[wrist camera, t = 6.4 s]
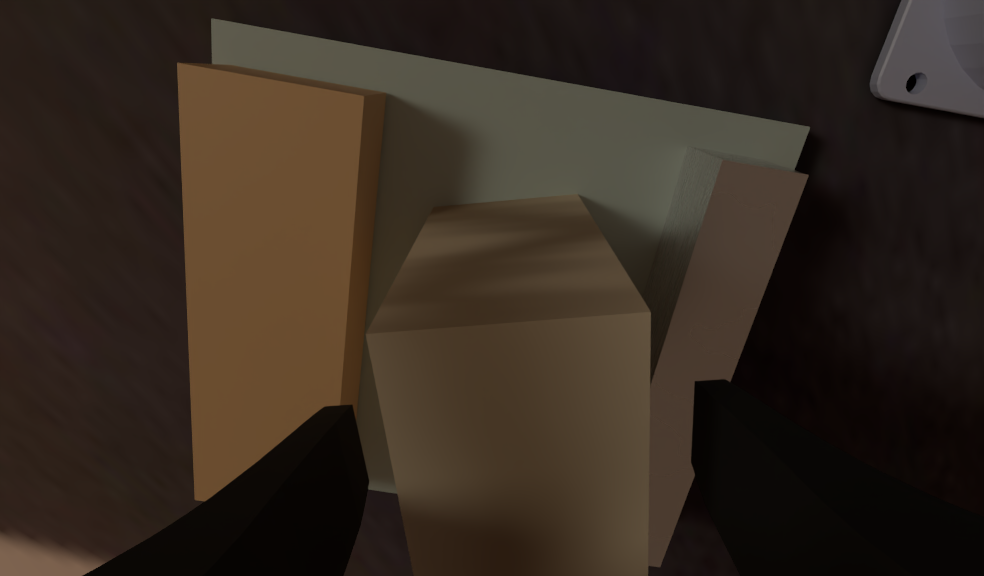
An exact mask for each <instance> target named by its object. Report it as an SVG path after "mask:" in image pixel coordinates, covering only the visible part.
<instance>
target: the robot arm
mask: <svg viewBox="0 0 984 576" xmlns="http://www.w3.org/2000/svg"><path fill="white" fill-rule="evenodd" d="M913 74H914V75H915V76H916V79H917V80H916V85H915V87H914V88H913V90H911V91H910V92H908V91H907V89H906V83H907V80H908V79H909V77H910V76H912V75H913ZM870 89H871V92H872V93H873V95H874V96H875V97H877V98H879V99H881V100H887V101H892V102H898V103H903V104H908V105H914V106H919V107H925V108H930V109H936V110H941V111H946V112H952V113H957V114H963V115H968V116H973V117H979V118H984V0H901V3H900V5H899V8H898V10H897V13H896V15H895V18H894V20H893V23H892V25H891V28H890V30H889V33H888V35H887V38H886V41H885V43H884V46H883V48H882V51H881V53H880V56H879V58H878V61H877V63H876V66H875V68H874V71H873V73H872V76H871V80H870ZM691 464H692V467H693V470H694V473H695V476H696V479H697V482H698V485H699V488H700V491H701V493H702V496H703V499H704V502H705V504H706V507H707V509H708V511H709V513H710V515H711V518H712V520H713V522H714V524H715V526H716V528H717V530H718V532H719V534H720V536H721V538H722V540H723V542H724V544H725V546H726V548H727V550H728V552H729V554H730V556H731V558H732V560H733V562H734V564H735V566H736V568H737V570H738V572H739V574H740V576H984V517H982V516H980V515H977V514H975V513H972V512H970V511H967V510H965V509H962V508H960V507H957V506H955V505H952V504H950V503H948V502H946V501H943V500H941V499H939V498H936V497H934V496H932V495H929V494H927V493H925V492H923V491H921V490H919V489H916V488H914V487H912V486H910V485H908V484H906V483H904V482H902V481H900V480H897V479H895V478H893V477H891V476H889V475H887V474H885V473H883V472H881V471H879V470H877V469H875V468H873V467H871V466H869V465H867V464H865V463H863V462H862V461H860V460H858V459H856V458H854V457H852V456H851V455H849V454H847V453H845V452H843V451H842V450H840V449H838V448H836V447H834V446H833V445H831V444H829V443H827V442H826V441H824V440H822V439H821V438H819V437H817V436H815V435H814V434H812V433H810V432H809V431H807V430H806V429H804V428H802V427H801V426H799V425H797V424H796V423H794V422H793V421H791V420H789V419H788V418H786V417H785V416H783V415H781V414H780V413H778V412H777V411H775V410H774V409H772V408H771V407H769V406H767V405H766V404H764V403H763V402H761V401H760V400H758V399H757V398H755V397H753V396H752V395H750V394H749V393H747V392H746V391H744V390H743V389H741V388H739V387H738V386H736V385H734V384H733V383H731V382H729V381H727V380H726V379H719V380H704V381H695V385H694V406H693V428H692V449H691ZM368 486H369V477H368V473H367V468H366V464H365V459H364V455H363V450H362V446H361V441H360V436H359V432H358V427H357V423H356V418H355V414H354V409H353V405H338V406H325V407H323V408H322V409H320V410H319V411H318V412H316V413H315V414H314V415H313V416H311V417H310V418H309V419H308V420H306V421H305V422H304V423H303V424H302V425H300V426H299V427H298V428H297V429H296V430H294V431H293V432H292V433H291V434H290V435H289V436H287V437H286V438H285V439H284V440H283V441H281V442H280V443H279V444H278V445H277V446H275V447H274V448H273V449H272V450H271V451H269V452H268V453H267V454H266V455H265V456H263V457H262V458H261V459H260V460H259V461H257V462H256V463H255V464H254V465H252V466H251V467H250V468H248V469H247V470H246V471H244V472H243V473H242V474H241V475H239V476H238V477H237V478H235V479H234V480H233V481H231V482H230V483H229V484H228V485H226V486H225V487H224V488H222V489H221V490H220V491H218V492H217V493H216V494H214V495H213V496H212V497H210V498H209V499H208V500H206V501H205V502H203V503H202V504H201V505H199V506H198V507H196V508H195V509H193V510H192V511H190V512H189V513H188V514H186V515H184V516H183V517H181V518H180V519H178V520H177V521H175V522H174V523H172V524H171V525H169V526H168V527H166V528H164V529H163V530H161V531H160V532H158V533H157V534H155V535H153V536H152V537H150V538H148V539H147V540H145V541H143V542H141V543H140V544H138V545H136V546H134V547H133V548H131V549H129V550H127V551H126V552H124V553H122V554H120V555H119V556H117V557H115V558H114V559H112V560H110V561H108V562H107V563H105V564H103V565H101V566H100V567H98V568H96V569H94V570H93V571H90V572H89V573H87V574H85V575H83V576H343V575H344V572H345V570H346V567H347V564H348V561H349V558H350V555H351V552H352V549H353V546H354V543H355V540H356V537H357V534H358V531H359V528H360V525H361V520H362V516H363V511H364V507H365V502H366V496H367V491H368Z"/></svg>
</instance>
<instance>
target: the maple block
mask: <svg viewBox="0 0 984 576" xmlns="http://www.w3.org/2000/svg"><path fill="white" fill-rule="evenodd" d="M366 338H367V343H368V348H369V353H370V358H371V363H372V368H373V373H374V378H375V383H376V388H377V393H378V398H379V403H380V408H381V413H382V418H383V423H384V428H385V433H386V438H387V444H388V449H389V454H390V459H391V464H392V469H393V474H394V479H395V484H396V489H397V494H398V499H399V504H400V509H401V514H402V519H403V524H404V529H405V534H406V539H407V544H408V549H409V554H410V559H411V564H412V569H413V574H414V576H648V528H649V437H650V347H651V311H650V310H649V308H648V306H647V305H646V303H645V302H644V300H643V298H642V297H641V295H640V293H639V292H638V290H637V289H636V287H635V285H634V284H633V282H632V281H631V279H630V277H629V276H628V274H627V273H626V271H625V269H624V268H623V266H622V265H621V263H620V261H619V260H618V258H617V256H616V255H615V253H614V252H613V250H612V248H611V247H610V245H609V244H608V242H607V240H606V239H605V237H604V236H603V234H602V232H601V231H600V229H599V228H598V226H597V224H596V223H595V221H594V219H593V218H592V216H591V215H590V213H589V211H588V210H587V208H586V207H585V205H584V203H583V202H582V200H581V199H580V197H579V195H578V194H572V195H561V196H549V197H538V198H527V199H516V200H505V201H494V202H483V203H472V204H461V205H450V206H439V207H433V209H432V211H431V213H430V215H429V216H428V218H427V220H426V222H425V224H424V226H423V228H422V230H421V231H420V233H419V235H418V237H417V239H416V241H415V243H414V245H413V246H412V248H411V250H410V252H409V254H408V256H407V258H406V260H405V261H404V263H403V265H402V267H401V269H400V271H399V273H398V275H397V276H396V278H395V280H394V282H393V284H392V286H391V288H390V289H389V291H388V293H387V295H386V297H385V299H384V301H383V303H382V304H381V306H380V308H379V310H378V312H377V314H376V316H375V318H374V319H373V321H372V323H371V325H370V327H369V329H368V331H367V333H366Z"/></svg>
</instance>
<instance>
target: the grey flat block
mask: <svg viewBox="0 0 984 576" xmlns="http://www.w3.org/2000/svg"><path fill="white" fill-rule="evenodd" d="M211 29H212V64H223V65H234V66H240V67H245V68H251V69H257V70H262V71H268V72H273V73H279V74H285V75H290V76H296V77H301V78H307V79H313V80H318V81H324V82H330V83H335V84H341V85H346V86H352V87H358V88H363V89H369V90H374V91H380V92H386V103H385V114H384V125H383V135H382V146H381V157H380V168H379V179H378V190H377V201H376V212H375V223H374V234H373V244H372V255H371V266H370V277H369V288H368V299H367V310H366V321H365V332H364V343H363V354H362V364H361V375H360V386H359V397H358V408H357V419H356V423H357V427H358V432H359V436H360V441H361V446H362V450H363V455H364V459H365V464H366V468H367V473H368V477H369V486H368V489H370V490H377V491H383V492H390V493H397V489H396V484H395V479H394V474H393V469H392V464H391V459H390V454H389V449H388V444H387V438H386V433H385V428H384V423H383V418H382V413H381V408H380V403H379V398H378V393H377V388H376V383H375V378H374V373H373V368H372V363H371V358H370V353H369V348H368V343H367V338H366V333H367V331H368V329H369V327H370V325H371V323H372V321H373V319H374V318H375V316H376V314H377V312H378V310H379V308H380V306H381V304H382V303H383V301H384V299H385V297H386V295H387V293H388V291H389V289H390V288H391V286H392V284H393V282H394V280H395V278H396V276H397V275H398V273H399V271H400V269H401V267H402V265H403V263H404V261H405V260H406V258H407V256H408V254H409V252H410V250H411V248H412V246H413V245H414V243H415V241H416V239H417V237H418V235H419V233H420V231H421V230H422V228H423V226H424V224H425V222H426V220H427V218H428V216H429V215H430V213H431V211H432V209H433V207H439V206H450V205H461V204H472V203H483V202H494V201H505V200H516V199H527V198H538V197H549V196H561V195H572V194H578V195H579V197H580V199H581V200H582V202H583V203H584V205H585V207H586V208H587V210H588V211H589V213H590V215H591V216H592V218H593V219H594V221H595V223H596V224H597V226H598V228H599V229H600V231H601V232H602V234H603V236H604V237H605V239H606V240H607V242H608V244H609V245H610V247H611V248H612V250H613V252H614V253H615V255H616V256H617V258H618V260H619V261H620V263H621V265H622V266H623V268H624V269H625V271H626V273H627V274H628V276H629V277H630V279H631V281H632V282H633V284H634V285H635V287H636V289H637V290H638V292H639V293H640V295H641V297H642V298H643V300H644V302H645V303H646V305H647V306H648V308H649V310H650V311H651V347H650V437H649V528H648V566H655V567H660V566H661V563H662V560H663V558H664V555H665V553H666V550H667V547H668V545H669V542H670V539H671V537H672V534H673V532H674V529H675V526H676V524H677V521H678V518H679V516H680V513H681V510H682V508H683V505H684V503H685V500H686V497H687V495H688V492H689V489H690V487H691V484H692V482H693V479H694V476H695V473H694V470H693V467H692V464H691V449H692V428H693V406H694V385H695V381H704V380H719V379H726V380H727V381H729V382H730V381H731V379H732V376H733V374H734V371H735V368H736V366H737V363H738V360H739V358H740V355H741V353H742V350H743V347H744V345H745V342H746V339H747V337H748V334H749V331H750V329H751V326H752V324H753V321H754V318H755V316H756V313H757V310H758V308H759V305H760V303H761V300H762V297H763V295H764V292H765V289H766V287H767V284H768V281H769V279H770V276H771V274H772V271H773V268H774V266H775V263H776V260H777V258H778V255H779V253H780V250H781V247H782V245H783V242H784V239H785V237H786V234H787V231H788V229H789V226H790V224H791V221H792V218H793V216H794V213H795V210H796V208H797V205H798V202H799V200H800V197H801V195H802V192H803V189H804V187H805V184H806V181H807V179H808V176H809V175H807V174H804V173H801V172H798V171H795V167H796V164H797V162H798V159H799V156H800V154H801V151H802V148H803V145H804V143H805V140H806V137H807V135H808V132H809V129H810V127H807V126H801V125H796V124H790V123H785V122H779V121H774V120H768V119H763V118H757V117H752V116H746V115H741V114H735V113H730V112H724V111H719V110H713V109H708V108H702V107H697V106H691V105H686V104H680V103H675V102H669V101H664V100H658V99H653V98H647V97H642V96H636V95H631V94H625V93H620V92H614V91H609V90H603V89H598V88H592V87H586V86H581V85H575V84H570V83H564V82H559V81H553V80H548V79H542V78H537V77H531V76H526V75H520V74H515V73H509V72H504V71H498V70H493V69H487V68H482V67H476V66H471V65H465V64H460V63H454V62H449V61H443V60H438V59H432V58H427V57H421V56H416V55H410V54H405V53H399V52H394V51H388V50H383V49H377V48H372V47H366V46H361V45H355V44H350V43H344V42H339V41H333V40H328V39H322V38H317V37H311V36H306V35H300V34H295V33H289V32H284V31H278V30H272V29H267V28H261V27H256V26H250V25H245V24H239V23H234V22H228V21H223V20H217V19H212V18H211Z"/></svg>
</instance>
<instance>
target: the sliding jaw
mask: <svg viewBox="0 0 984 576" xmlns="http://www.w3.org/2000/svg"><path fill="white" fill-rule="evenodd" d="M177 70H178V95H179V120H180V144H181V169H182V194H183V219H184V243H185V268H186V293H187V318H188V342H189V367H190V392H191V417H192V441H193V466H194V491H195V500H199V501H206V500H208V499H209V498H210V497H212V496H213V495H214V494H216V493H217V492H218V491H220V490H221V489H222V488H224V487H225V486H226V485H228V484H229V483H230V482H231V481H233V480H234V479H235V478H237V477H238V476H239V475H241V474H242V473H243V472H244V471H246V470H247V469H248V468H250V467H251V466H252V465H254V464H255V463H256V462H257V461H259V460H260V459H261V458H262V457H263V456H265V455H266V454H267V453H268V452H269V451H271V450H272V449H273V448H274V447H275V446H277V445H278V444H279V443H280V442H281V441H283V440H284V439H285V438H286V437H287V436H289V435H290V434H291V433H292V432H293V431H294V430H296V429H297V428H298V427H299V426H300V425H302V424H303V423H304V422H305V421H306V420H308V419H309V418H310V417H311V416H313V415H314V414H315V413H316V412H318V411H319V410H320V409H322V408H323V407H325V406H338V405H353V409H354V414H355V418H356V419H357V408H358V397H359V386H360V375H361V364H362V354H363V343H364V332H365V321H366V310H367V299H368V288H369V277H370V266H371V255H372V244H373V234H374V223H375V212H376V201H377V190H378V179H379V168H380V157H381V146H382V135H383V125H384V114H385V103H386V92H380V91H374V90H369V89H363V88H358V87H352V86H346V85H341V84H335V83H330V82H324V81H318V80H313V79H307V78H301V77H296V76H290V75H285V74H279V73H273V72H268V71H262V70H257V69H251V68H245V67H240V66H234V65H223V64H197V63H177Z"/></svg>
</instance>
